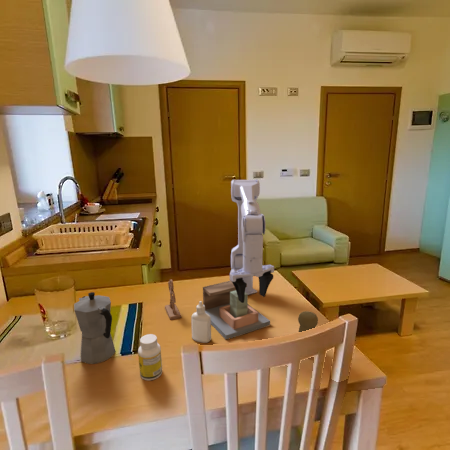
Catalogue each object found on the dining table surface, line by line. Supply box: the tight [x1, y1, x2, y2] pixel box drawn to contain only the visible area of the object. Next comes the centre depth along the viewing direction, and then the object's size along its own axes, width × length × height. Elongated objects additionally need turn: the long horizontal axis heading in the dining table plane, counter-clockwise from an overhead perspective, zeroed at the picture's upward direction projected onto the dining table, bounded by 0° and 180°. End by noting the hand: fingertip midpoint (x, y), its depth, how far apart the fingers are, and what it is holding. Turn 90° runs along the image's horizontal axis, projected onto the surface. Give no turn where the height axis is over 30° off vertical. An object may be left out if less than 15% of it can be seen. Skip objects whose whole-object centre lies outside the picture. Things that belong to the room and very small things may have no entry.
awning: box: [202, 280, 247, 310], centre depth 105 cm, size 6×14×8 cm, turn 119°
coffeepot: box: [73, 291, 116, 365], centre depth 82 cm, size 15×9×18 cm, turn 49°
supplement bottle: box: [137, 333, 163, 381], centre depth 75 cm, size 5×5×10 cm
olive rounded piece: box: [297, 310, 319, 332], centre depth 84 cm, size 6×6×11 cm
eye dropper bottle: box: [190, 300, 212, 344], centre depth 89 cm, size 4×6×12 cm
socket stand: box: [205, 303, 271, 340], centre depth 101 cm, size 18×16×4 cm
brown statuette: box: [164, 279, 182, 321], centre depth 104 cm, size 9×4×12 cm, turn 22°
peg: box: [230, 291, 249, 318], centre depth 97 cm, size 4×4×9 cm
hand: (252, 298), depth 93 cm, fingers open, 7 cm apart
